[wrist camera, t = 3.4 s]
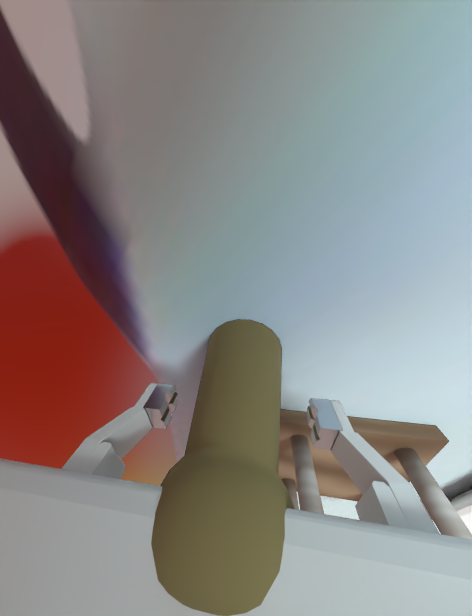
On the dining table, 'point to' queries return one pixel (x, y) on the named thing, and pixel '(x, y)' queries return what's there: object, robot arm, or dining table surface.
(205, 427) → the olive gourd
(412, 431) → the standoff base
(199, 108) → the dining table surface
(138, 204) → the dining table surface
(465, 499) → the plate
